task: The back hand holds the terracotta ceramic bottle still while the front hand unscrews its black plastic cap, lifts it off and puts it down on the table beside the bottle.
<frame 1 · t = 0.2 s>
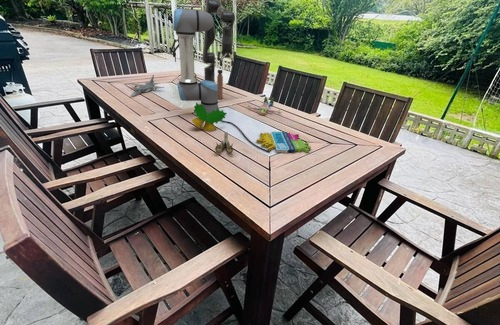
front hand: (184, 61, 211), 28 cm above the table, tool pointing down, fingers open, 13 cm apart
back hand: (226, 66, 199), 29 cm above the table, tool pointing down, fingers open, 8 cm apart
jawbone: (224, 151, 138), on the table
ornament: (209, 128, 165), on the table
cap: (220, 70, 213), point 23 cm above the table, screwed on, not yet turned
airplane: (145, 91, 230), on the table
toy: (265, 109, 205), on the table
bottle: (219, 98, 224), on the table
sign: (281, 143, 152), on the table
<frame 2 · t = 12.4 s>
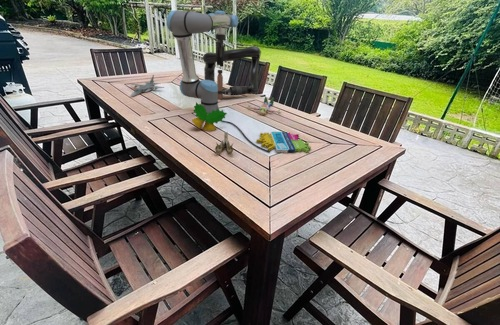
front hand: (220, 65, 211), 27 cm above the table, tool pointing down, fingers open, 6 cm apart
back hand: (216, 91, 220), 6 cm above the table, tool horizontal, fingers closed on bottle, 4 cm apart
bottle: (219, 98, 224), on the table, touching back hand
everything else where it was.
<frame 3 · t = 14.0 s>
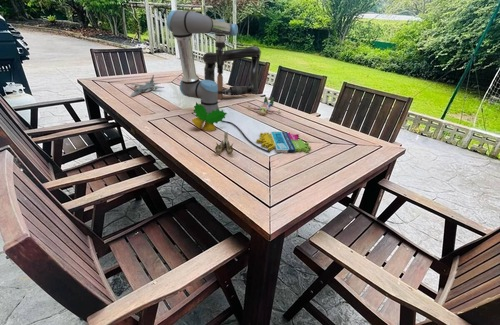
front hand: (220, 73, 214), 21 cm above the table, tool pointing down, fingers closed on cap, 4 cm apart
back hand: (216, 91, 220), 6 cm above the table, tool horizontal, fingers closed on bottle, 4 cm apart
cap: (220, 70, 213), point 23 cm above the table, screwed on, not yet turned, touching front hand
bottle: (219, 98, 224), on the table, touching back hand
everything else where it was.
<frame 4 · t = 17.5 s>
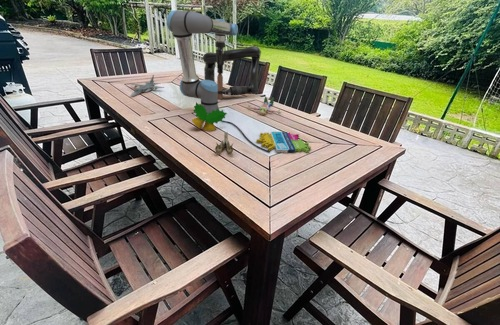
front hand: (220, 72, 214), 21 cm above the table, tool pointing down, fingers closed on cap, 4 cm apart
back hand: (216, 91, 220), 6 cm above the table, tool horizontal, fingers closed on bottle, 4 cm apart
cap: (220, 70, 213), point 23 cm above the table, turned 124° so far, risen 0.1 cm, still on its thread, touching front hand
bottle: (219, 98, 224), on the table, touching back hand
everything else where it was.
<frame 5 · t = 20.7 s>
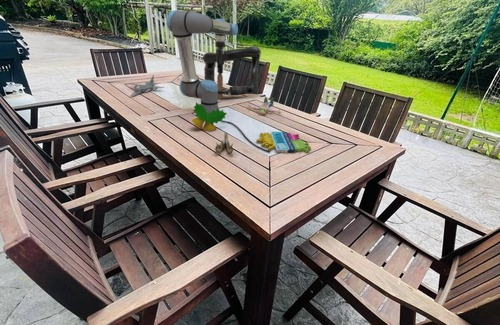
front hand: (220, 72, 214), 22 cm above the table, tool pointing down, fingers closed on cap, 4 cm apart
back hand: (216, 91, 220), 6 cm above the table, tool horizontal, fingers closed on bottle, 4 cm apart
cap: (220, 70, 213), point 24 cm above the table, turned 249° so far, risen 0.3 cm, still on its thread, touching front hand
bottle: (219, 98, 224), on the table, touching back hand
everything else where it was.
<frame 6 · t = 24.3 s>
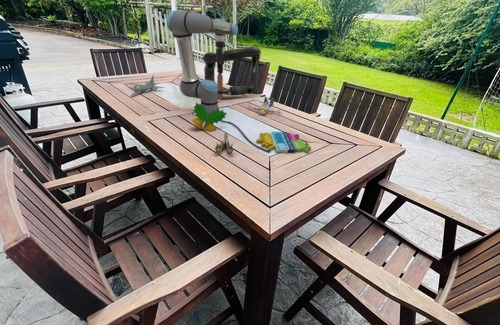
front hand: (220, 72, 214), 22 cm above the table, tool pointing down, fingers closed on cap, 4 cm apart
back hand: (216, 91, 220), 6 cm above the table, tool horizontal, fingers closed on bottle, 4 cm apart
cap: (220, 70, 213), point 24 cm above the table, turned 373° so far, risen 0.4 cm, still on its thread, touching front hand
bottle: (219, 98, 224), on the table, touching back hand
everything else where it was.
when the front hand's fingers open (2 cm above the table, at t = 31.4 s): cap drops 2 cm, point 2 cm above the table.
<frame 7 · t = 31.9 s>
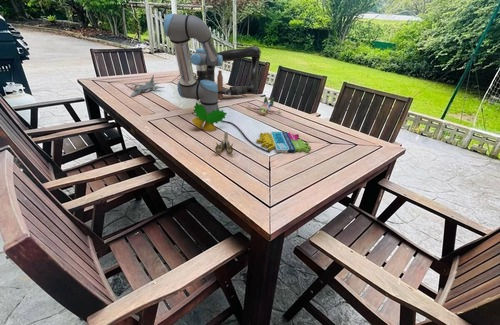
front hand: (202, 98, 211), 3 cm above the table, tool pointing down, fingers open, 11 cm apart
back hand: (216, 91, 220), 6 cm above the table, tool horizontal, fingers closed on bottle, 4 cm apart
cap: (202, 100, 212), point 2 cm above the table, off its thread
bottle: (219, 98, 224), on the table, touching back hand
everything else where it was.
when the back hand's fingers open (6 cm above the table, at t = 32.7 s): bottle stays where it is, on the table.
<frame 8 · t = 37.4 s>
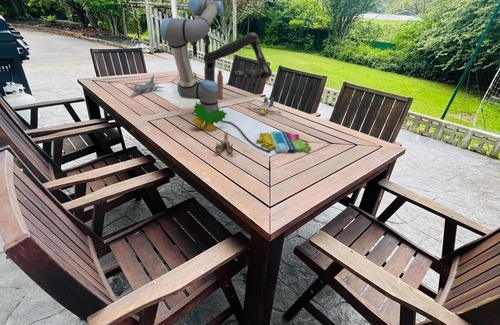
front hand: (201, 54, 195), 36 cm above the table, tool pointing down, fingers open, 13 cm apart
back hand: (232, 74, 219), 20 cm above the table, tool horizontal, fingers open, 8 cm apart
bottle: (219, 98, 224), on the table
everything else where it was.
at the end: cap came off its thread; cap point 1.9 cm above the table; the front hand is holding nothing; the back hand is holding nothing; bottle tilted 0°; bottle moved 0.0 cm from its start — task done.
